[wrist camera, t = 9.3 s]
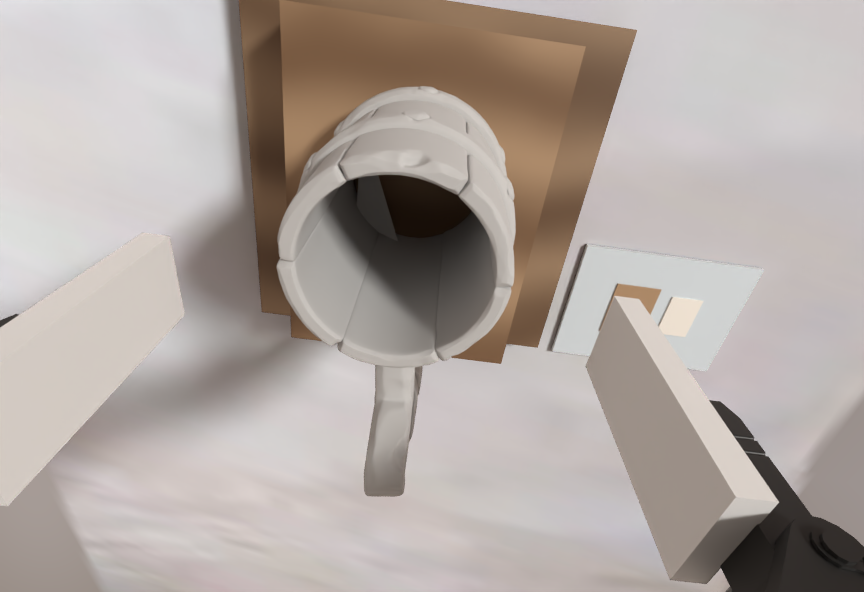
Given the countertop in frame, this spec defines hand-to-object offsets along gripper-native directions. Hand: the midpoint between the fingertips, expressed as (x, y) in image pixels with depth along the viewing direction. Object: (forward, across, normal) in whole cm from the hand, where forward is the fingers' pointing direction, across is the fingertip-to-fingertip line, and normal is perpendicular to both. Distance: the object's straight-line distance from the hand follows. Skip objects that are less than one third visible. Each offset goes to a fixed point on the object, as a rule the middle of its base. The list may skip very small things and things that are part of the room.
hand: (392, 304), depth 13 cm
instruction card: (+14, +16, -7) cm, 22 cm away
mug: (+9, 0, -1) cm, 9 cm away
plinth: (+14, 0, -1) cm, 14 cm away
